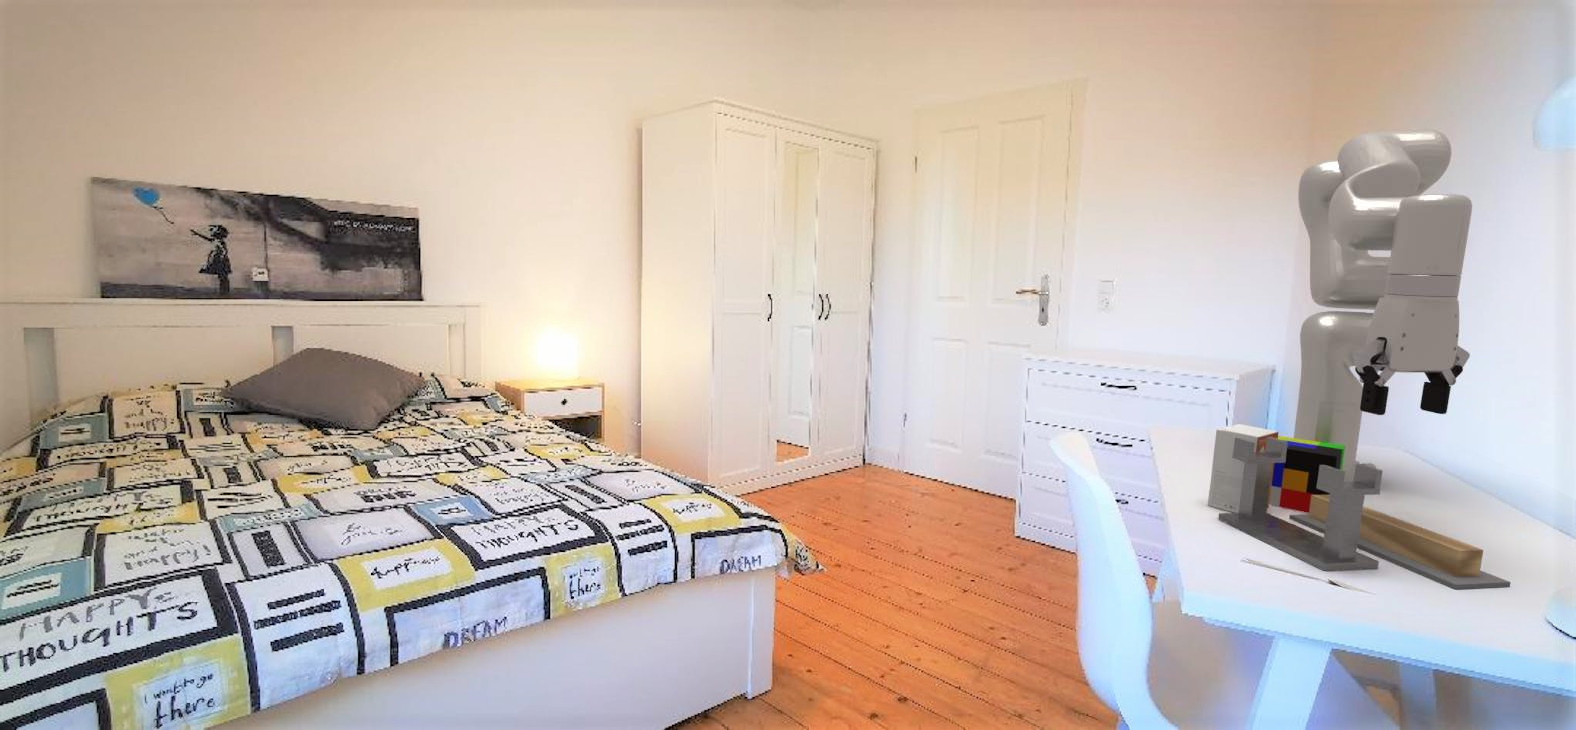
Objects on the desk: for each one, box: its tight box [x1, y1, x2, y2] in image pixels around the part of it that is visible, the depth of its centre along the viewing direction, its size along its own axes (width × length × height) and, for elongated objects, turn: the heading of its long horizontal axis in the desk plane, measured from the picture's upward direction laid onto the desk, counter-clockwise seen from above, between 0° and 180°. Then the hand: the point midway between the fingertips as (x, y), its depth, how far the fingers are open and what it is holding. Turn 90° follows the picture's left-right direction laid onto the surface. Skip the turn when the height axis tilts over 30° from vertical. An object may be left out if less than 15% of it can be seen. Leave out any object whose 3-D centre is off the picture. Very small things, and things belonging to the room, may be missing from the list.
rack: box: [1217, 437, 1383, 572], centre depth 103 cm, size 8×19×13 cm, turn 8°
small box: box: [1207, 423, 1280, 513], centre depth 118 cm, size 8×6×13 cm
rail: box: [1308, 495, 1484, 577], centre depth 103 cm, size 4×22×4 cm, turn 8°
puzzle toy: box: [1269, 435, 1345, 514], centre depth 122 cm, size 10×10×10 cm
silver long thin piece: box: [1241, 557, 1380, 597], centre depth 91 cm, size 4×1×19 cm
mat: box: [1288, 513, 1511, 590], centre depth 103 cm, size 8×25×1 cm, turn 8°
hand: (1402, 412), depth 101 cm, fingers open, 9 cm apart
